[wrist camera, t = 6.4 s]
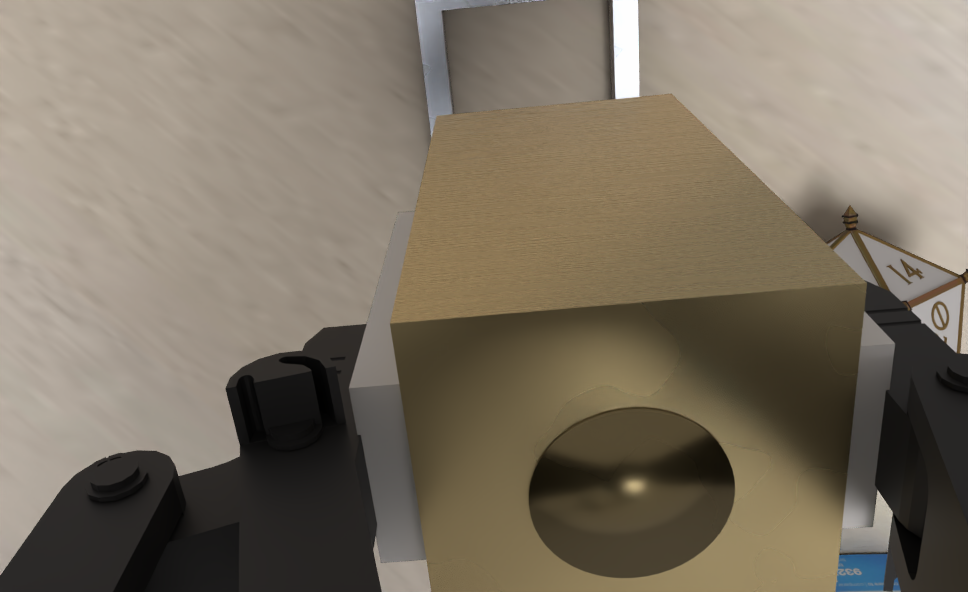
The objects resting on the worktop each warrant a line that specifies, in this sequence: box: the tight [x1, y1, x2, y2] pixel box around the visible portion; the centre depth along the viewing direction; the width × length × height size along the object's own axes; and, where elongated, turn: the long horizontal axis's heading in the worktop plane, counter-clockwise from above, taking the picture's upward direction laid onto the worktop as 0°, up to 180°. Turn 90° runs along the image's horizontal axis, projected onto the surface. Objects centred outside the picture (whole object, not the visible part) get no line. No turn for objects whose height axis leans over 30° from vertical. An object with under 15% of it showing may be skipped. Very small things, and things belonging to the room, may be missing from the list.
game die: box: [826, 206, 968, 353], centre depth 33 cm, size 9×8×10 cm
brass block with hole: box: [390, 94, 867, 592], centre depth 14 cm, size 5×5×10 cm
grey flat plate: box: [415, 0, 639, 138], centre depth 34 cm, size 8×18×1 cm, turn 5°
